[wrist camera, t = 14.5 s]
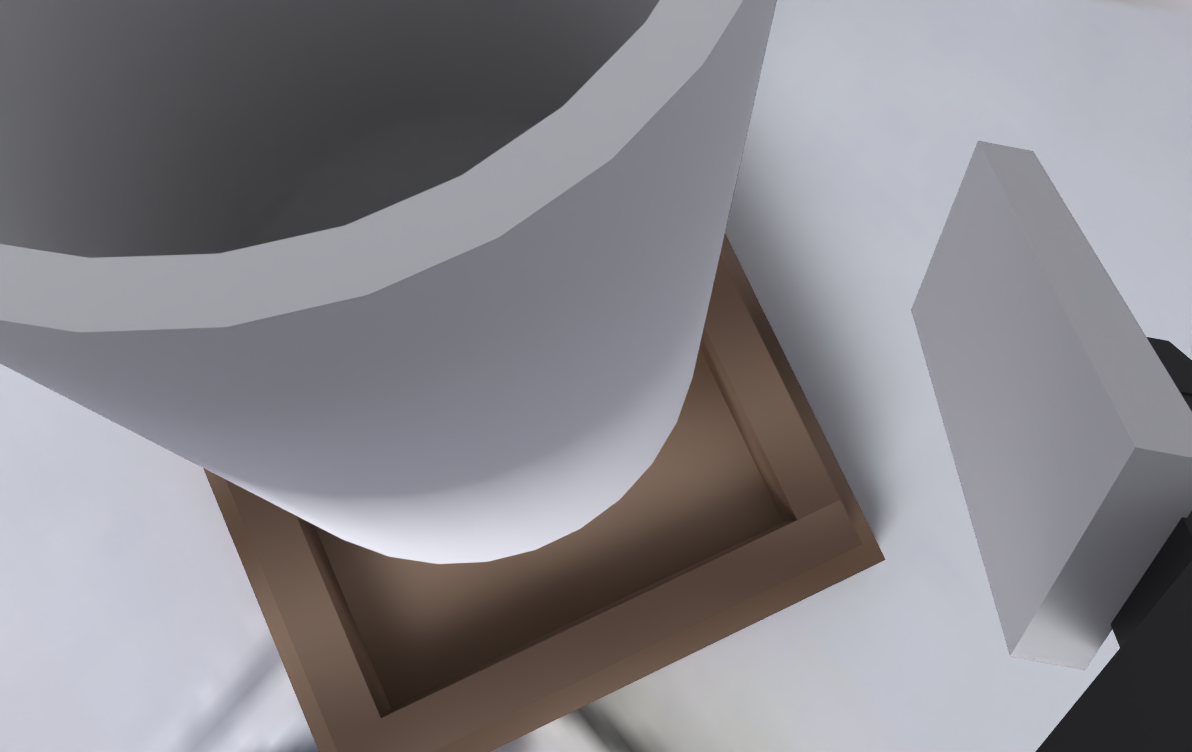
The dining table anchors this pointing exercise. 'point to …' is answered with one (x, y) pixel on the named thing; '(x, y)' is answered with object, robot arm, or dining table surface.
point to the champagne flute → (377, 243)
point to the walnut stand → (569, 570)
